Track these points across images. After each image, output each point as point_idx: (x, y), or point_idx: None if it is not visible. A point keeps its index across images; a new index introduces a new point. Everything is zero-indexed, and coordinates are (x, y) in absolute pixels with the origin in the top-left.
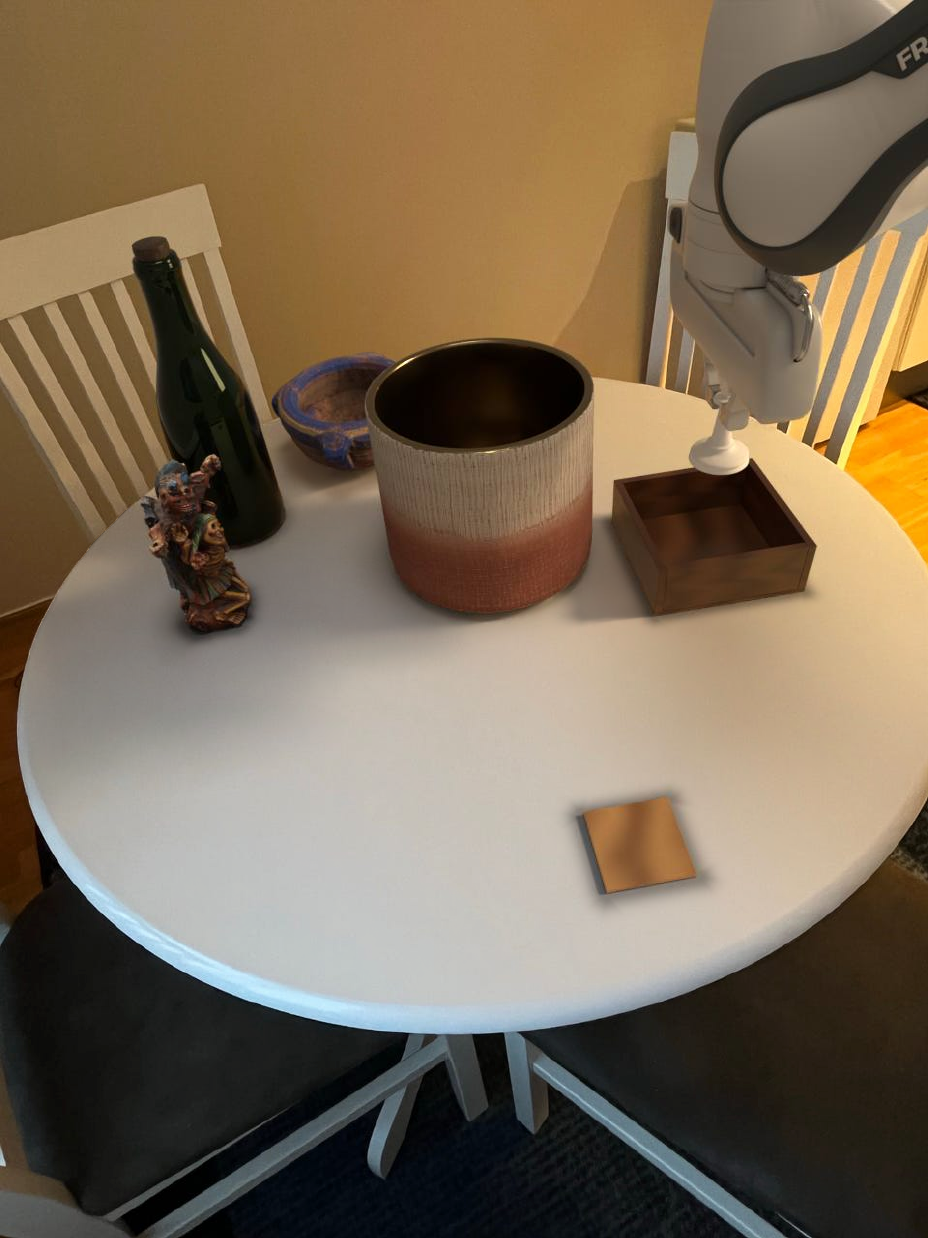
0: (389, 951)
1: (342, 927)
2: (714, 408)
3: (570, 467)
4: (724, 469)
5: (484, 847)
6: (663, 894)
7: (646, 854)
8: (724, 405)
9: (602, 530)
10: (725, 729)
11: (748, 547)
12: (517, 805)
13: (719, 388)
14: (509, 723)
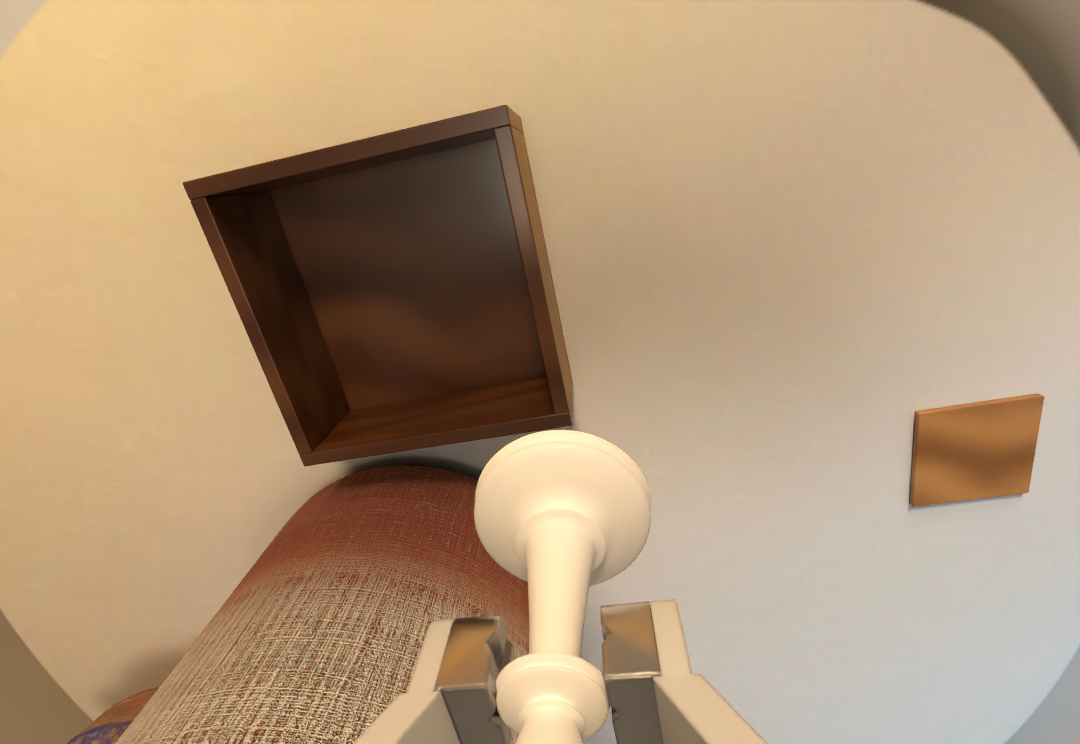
0: (1012, 667)
1: (973, 699)
2: (514, 657)
3: None
4: (650, 520)
5: (921, 595)
6: (1047, 432)
7: (996, 447)
8: (639, 742)
9: None
10: (816, 317)
11: (404, 202)
12: (875, 564)
13: (490, 729)
14: (750, 567)
